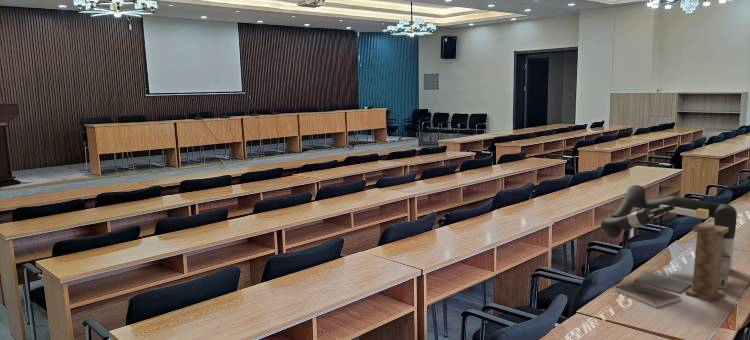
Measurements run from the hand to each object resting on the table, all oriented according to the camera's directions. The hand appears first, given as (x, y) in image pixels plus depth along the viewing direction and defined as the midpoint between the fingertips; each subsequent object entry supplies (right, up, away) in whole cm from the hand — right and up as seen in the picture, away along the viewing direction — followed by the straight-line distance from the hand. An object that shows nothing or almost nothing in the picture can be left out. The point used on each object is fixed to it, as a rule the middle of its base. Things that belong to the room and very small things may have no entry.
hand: (674, 206), depth 252 cm
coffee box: (+23, -38, +6) cm, 45 cm away
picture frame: (-15, -41, -3) cm, 44 cm away
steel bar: (+3, -3, -3) cm, 5 cm away
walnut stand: (+11, -40, -5) cm, 42 cm away
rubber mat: (-1, -38, +9) cm, 39 cm away
